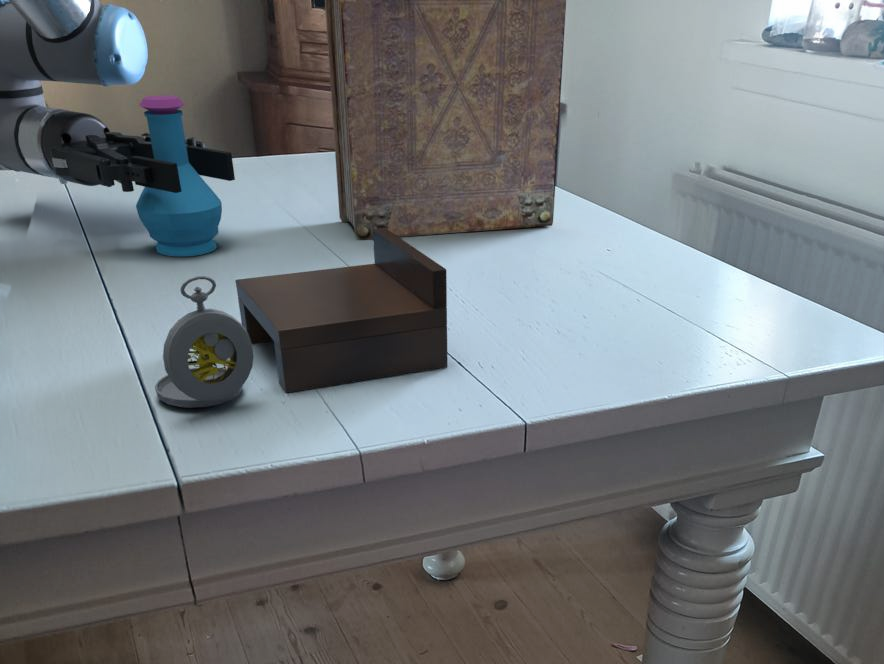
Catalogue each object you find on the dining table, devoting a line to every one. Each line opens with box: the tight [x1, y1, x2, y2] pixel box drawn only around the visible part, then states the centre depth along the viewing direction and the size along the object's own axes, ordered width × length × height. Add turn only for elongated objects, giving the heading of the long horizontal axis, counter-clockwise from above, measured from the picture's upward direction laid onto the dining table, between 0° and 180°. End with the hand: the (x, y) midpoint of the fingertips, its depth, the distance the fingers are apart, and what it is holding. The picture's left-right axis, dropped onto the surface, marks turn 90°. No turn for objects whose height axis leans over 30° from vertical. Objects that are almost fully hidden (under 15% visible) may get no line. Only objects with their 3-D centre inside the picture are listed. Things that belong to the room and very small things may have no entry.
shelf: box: [235, 228, 448, 394], centre depth 78 cm, size 14×14×8 cm
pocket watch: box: [154, 275, 254, 409], centre depth 69 cm, size 8×8×10 cm
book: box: [324, 0, 567, 241], centre depth 107 cm, size 25×9×30 cm, turn 107°
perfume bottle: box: [135, 94, 223, 257], centre depth 101 cm, size 9×9×15 cm
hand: (203, 172), depth 98 cm, fingers open, 7 cm apart
